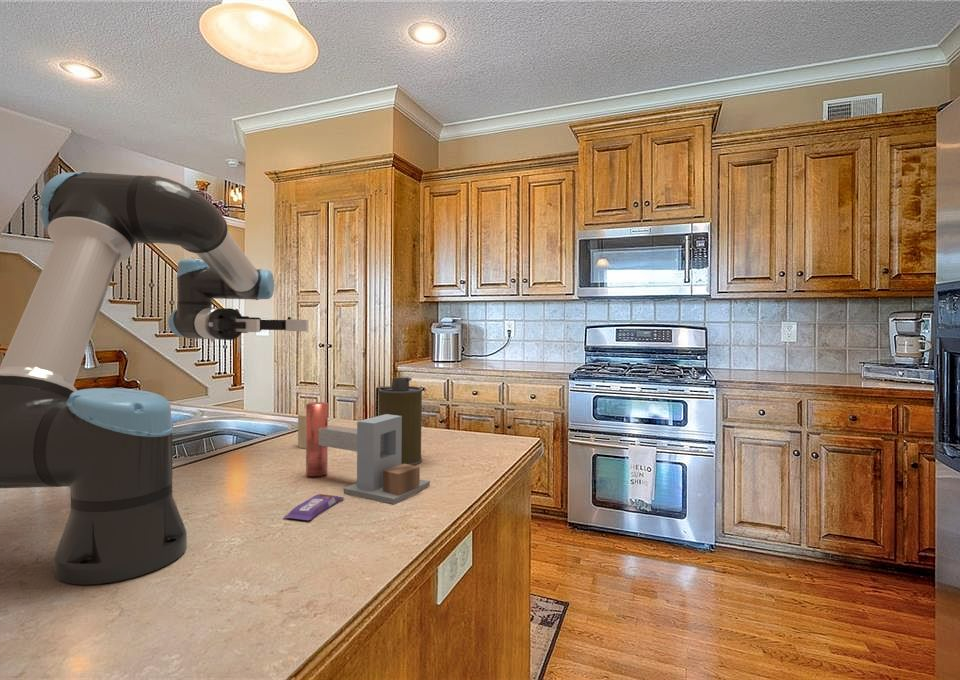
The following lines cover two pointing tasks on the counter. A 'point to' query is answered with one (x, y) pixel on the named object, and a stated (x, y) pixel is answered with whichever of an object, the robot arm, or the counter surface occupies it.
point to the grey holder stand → (378, 458)
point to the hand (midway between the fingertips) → (284, 325)
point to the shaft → (326, 438)
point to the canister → (404, 414)
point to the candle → (302, 429)
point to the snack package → (313, 507)
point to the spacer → (401, 479)
